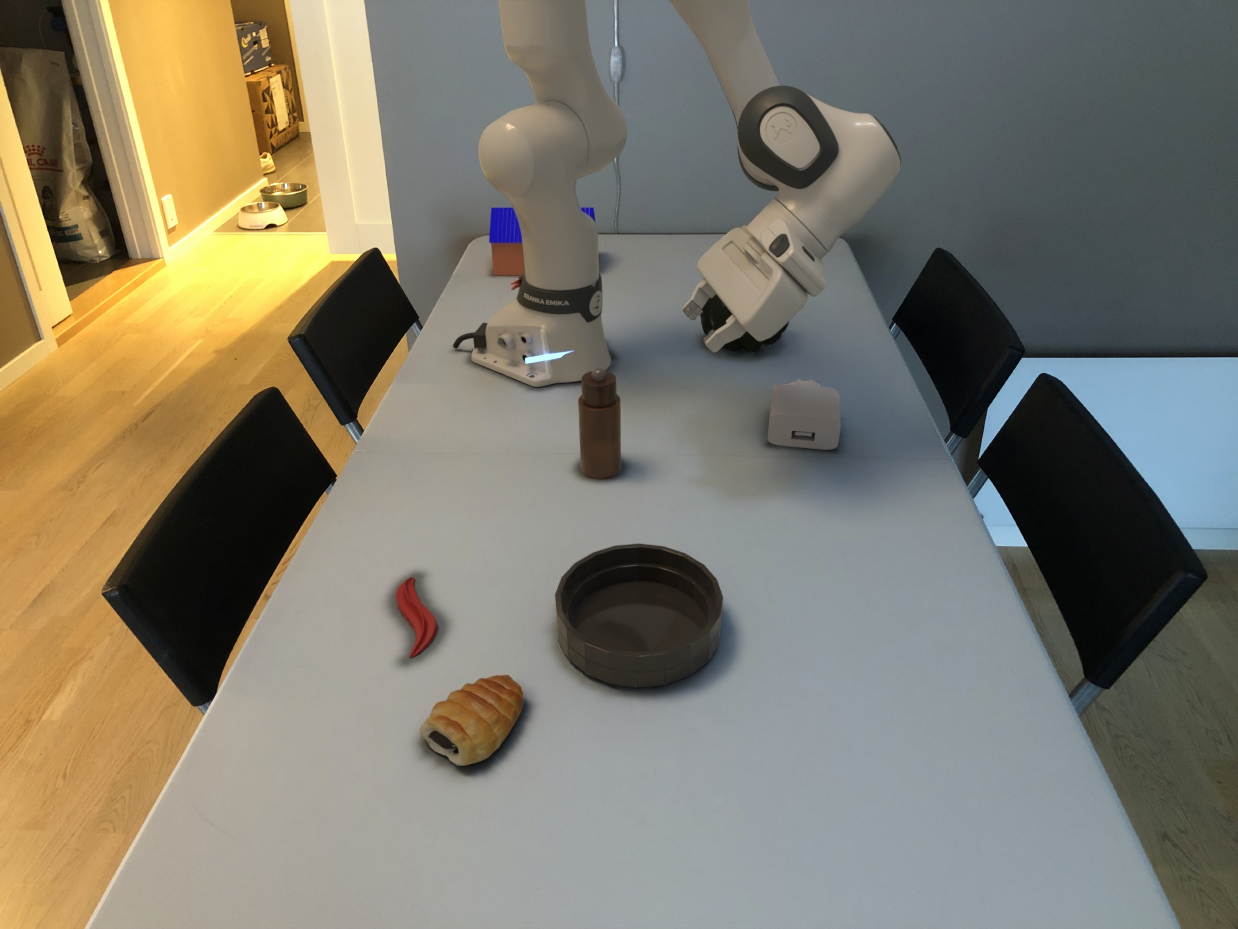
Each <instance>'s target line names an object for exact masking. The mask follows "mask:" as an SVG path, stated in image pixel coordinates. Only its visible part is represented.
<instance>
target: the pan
mask: <svg viewBox="0 0 1238 929" xmlns="http://www.w3.org/2000/svg"><path fill="white" fill-rule="evenodd" d="M721 589H722V588H721V587H720V584H719V581H718V579H717V578H716V576H715V575H714V574H713V573H712V572H711V571H710V570H709V568H708V567H707V566H706V565H705V564H704V563H702V562H701V561H699V560H697V559H695V558H694V557H693V556H691V555H689V554H688V553H686V552H683V551H680V550H677V549H673V548H670V547H668V546H665V545H656V544H649V543H648V544H647V543H628V544H616V545H613V546H610V547H609V546H608V547H606V548H602V549H599V550H596V551H593V552H591V553H589V554H587V555H586V556H584V557H582V558H581V559H579V560H577V561H575V562H574V563H573V564H572V565H571V566H570V567H569V569H567V571H566V572H565V573H564V574H563V575H562V576H561V577H560V580H559V583H558V585H557V588H556V590H555V593H554V602H555V618H556V619H555V620H556V630H557V640H558V644H559V646H560V648H561V649H562V650H563V652H564V654H565V656H566V658H567V659H568V660H569V661H570V662H571V663H572V664H573V665H575V666H576V667H577V668H578V669H580V670H581V671H582V672H583V673H584V674H586V675H587V676H590V677H592V678H594V679H597V680H600V681H601V682H604V683H607V684H609V685H614V686H621V687H622V686H623V687H629V688H635V689H636V688H646V687H647V688H648V687H657V686H665V685H668V684H672V683H674V682H676V681H679V680H682V679H684V678H687V677H690V676H691V675H693V674H694V673H695V672H696V671H698V670H699V669H701V668H702V667H704V665H705V664H707V663H708V662H710V659H711V658H712V656H713V655H714V653H715V651H716V649H717V648H718V646H719V644H720V638H721V629H722V618H723V604H724V595H723V592H722V590H721Z"/></svg>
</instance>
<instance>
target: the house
mask: <svg viewBox="0 0 1238 929" xmlns="http://www.w3.org/2000/svg"><path fill="white" fill-rule="evenodd" d="M580 208H581V210H582V211H583V212H584V213H586V214H587V215H589V216H590V217H591V218H592V219H593V220H594V221H595V222H596V216H595V215H596V214H595V209H594V208H595V207H587V206H586V207H581V206H580ZM489 219H490V220H489V221H490V222H489V236H488V243H489V244H490V247H491V258H492V270H493V276H522V275H524V274H525V265H524V254H523V244H522V235H521V230H520V226H519V222H518V219H517V216H516V214H515V211H514V209H513V207H490V218H489Z"/></svg>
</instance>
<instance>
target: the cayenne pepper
mask: <svg viewBox="0 0 1238 929" xmlns="http://www.w3.org/2000/svg"><path fill="white" fill-rule="evenodd" d="M415 580H416V579H415V577H414V576H413V577H411V576H410V577H409V578H407V579H405V580H404V582H402V583H401V584H400V585H399V586H398V588H397V590H396V593H395V599H396V603H397V607H398V610H399V613H401V615H402V616H403V618H404V619H405V620H406V621H407V622H408V623H409V625H410V626H411V628H412V629H413V631H414V634H415V642H414V645H413V647H412V649H411V651H410V654H409V659H411V658H415V657H416V656H418V655H420V654H421V653H422V652H423V651H424V650H426V649H427V648H428V646H430V644H431V643H432V642H433V640H434V638H435V637H436V634H437V632H438V624H437V621H436V618H435V616H434V614H433V613H432V612H431V611H430V610H429V609H428V608H427V607H425V606H424V604H423V603H422V602H421V599H420V598H419V596H418V595H417V592H416V589H415Z"/></svg>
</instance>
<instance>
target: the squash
mask: <svg viewBox="0 0 1238 929" xmlns="http://www.w3.org/2000/svg"><path fill="white" fill-rule="evenodd" d="M702 311H703V312H702V313H701V314H700V315H699V317H700V324H701V328H702V331H703V333H704V335H705V336H707V335H708V333H709V332H710V331H711V330H712V329H713V330H714V331H716V330H718V329H719V328H721V327H722V326H724V325H725V324H727V323H726V320H727V319H728V318H729V317H730V316H731V315H732V313H731V312H730V310H729V309H728V308H727V307H726V305H725V304H724V303H723V302H722V300H721V299H720V298H719V297H718V295H717V294H716V295H715V296H714V297H713V298H709V299H708V301H707V302H706V303H705V305H704V306H703V308H702ZM789 324H790V321H789V322H788V323H787V324H786V325H785V326H784V327H782V328H781V329H780V330H779V331H778V332H777V333H776V334H775V335H773V336H772V337H770V338H768V339H766V340H763V341H757V340H756V339H755V338H754V337H753V336H752V335H751V334H750V333H749V332H748V331H746V332H745V333H744V334H743V335H742V336H741V337H740V338H737V339H735V340H733V341H731V342H728V343H726V344H725V345H724V346H723V347H724V348H725V349H726V350H728V351H729V352H732V353H734V352H735V353H737V352H739V351H741V350H744V351H745V352H747V353H748V354H753V353H754V354H755V353H757V352H759V351H760V350H761V349H762V348H763V346H771V345H774V344H776V343H777V342H778V341H779V340H780V338H781V336H782V335H783V334H784V332H785V331H786V330H787V328H788V326H789Z"/></svg>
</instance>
